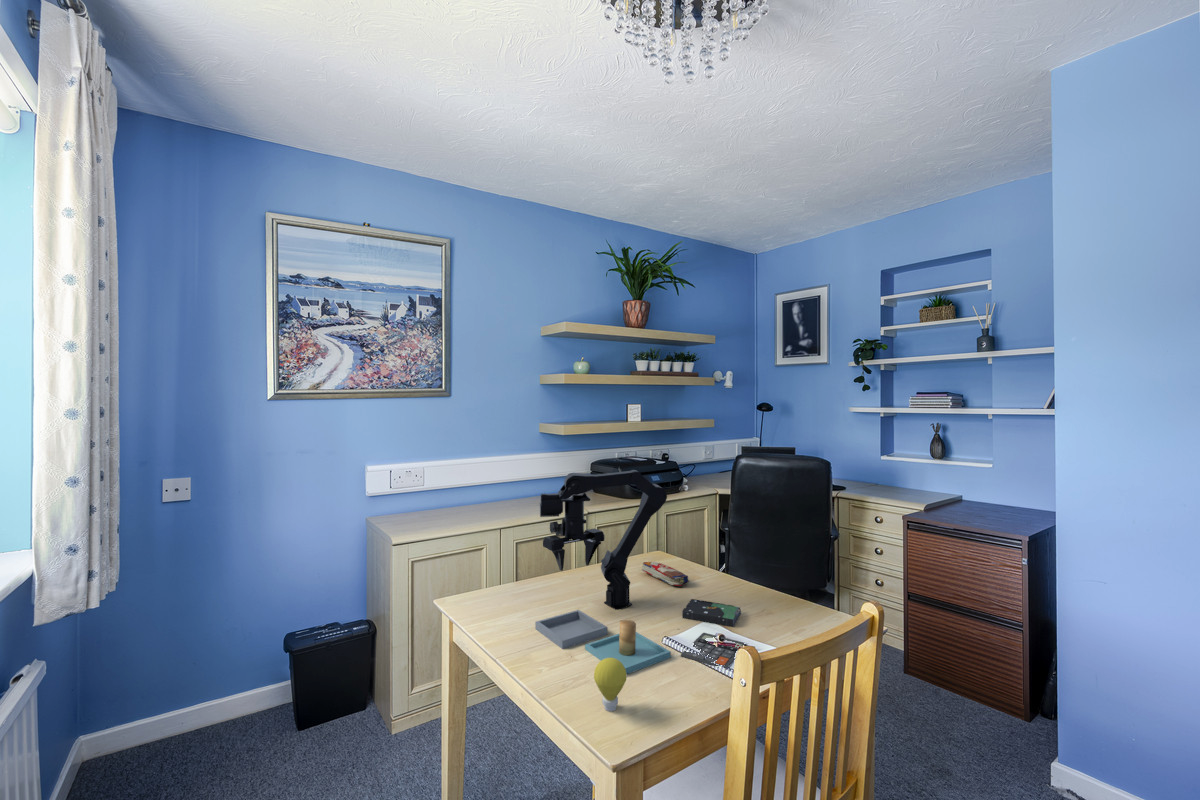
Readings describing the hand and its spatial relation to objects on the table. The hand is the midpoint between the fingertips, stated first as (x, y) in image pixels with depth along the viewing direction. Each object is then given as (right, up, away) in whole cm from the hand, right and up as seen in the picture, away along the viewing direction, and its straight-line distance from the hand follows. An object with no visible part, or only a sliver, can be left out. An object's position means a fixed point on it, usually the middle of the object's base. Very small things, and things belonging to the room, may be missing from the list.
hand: (574, 567), depth 163 cm
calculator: (+36, -13, -27) cm, 47 cm away
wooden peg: (+14, -12, -29) cm, 34 cm away
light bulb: (+10, -13, -52) cm, 54 cm away
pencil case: (+30, -12, +25) cm, 41 cm away
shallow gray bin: (0, -12, -17) cm, 21 cm away
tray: (+14, -12, -29) cm, 35 cm away
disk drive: (+40, -13, -6) cm, 42 cm away
